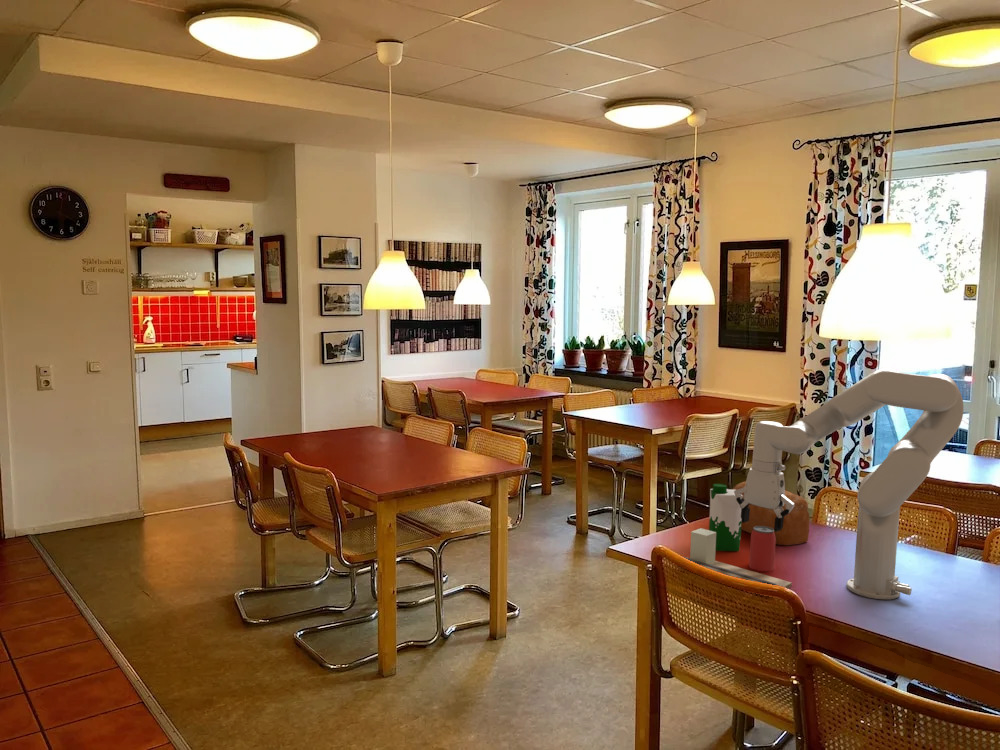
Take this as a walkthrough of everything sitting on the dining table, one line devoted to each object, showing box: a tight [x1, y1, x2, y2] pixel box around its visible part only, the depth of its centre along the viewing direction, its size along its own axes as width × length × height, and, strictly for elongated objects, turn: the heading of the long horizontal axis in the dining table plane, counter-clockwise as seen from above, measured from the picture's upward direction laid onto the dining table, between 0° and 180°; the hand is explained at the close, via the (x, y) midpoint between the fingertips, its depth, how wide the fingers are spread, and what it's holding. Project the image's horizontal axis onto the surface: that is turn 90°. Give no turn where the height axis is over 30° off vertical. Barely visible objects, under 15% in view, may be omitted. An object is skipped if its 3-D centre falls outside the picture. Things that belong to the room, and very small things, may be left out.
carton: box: [689, 527, 716, 565], centre depth 215 cm, size 5×5×9 cm
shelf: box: [683, 556, 793, 589], centre depth 208 cm, size 28×10×3 cm, turn 44°
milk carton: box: [708, 483, 743, 552], centre depth 229 cm, size 9×9×20 cm
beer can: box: [748, 526, 776, 573], centre depth 213 cm, size 7×7×12 cm
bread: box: [732, 480, 810, 546], centre depth 248 cm, size 14×26×16 cm, turn 22°
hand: (761, 526), depth 213 cm, fingers open, 9 cm apart
